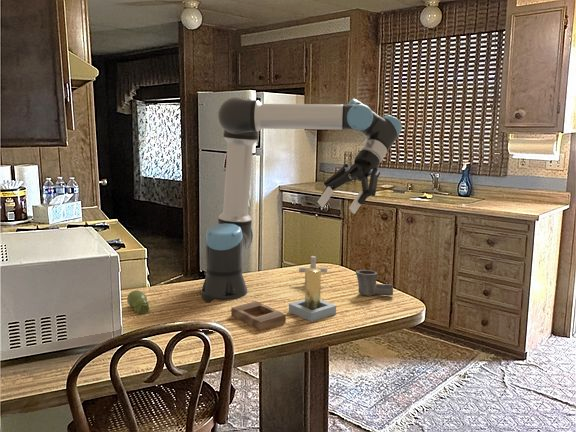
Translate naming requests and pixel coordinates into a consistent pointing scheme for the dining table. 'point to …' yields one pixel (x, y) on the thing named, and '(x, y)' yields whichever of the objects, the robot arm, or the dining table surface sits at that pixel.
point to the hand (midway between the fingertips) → (335, 207)
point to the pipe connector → (313, 266)
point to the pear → (138, 301)
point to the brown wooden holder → (258, 315)
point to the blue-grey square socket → (312, 315)
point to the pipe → (372, 284)
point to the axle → (312, 288)
